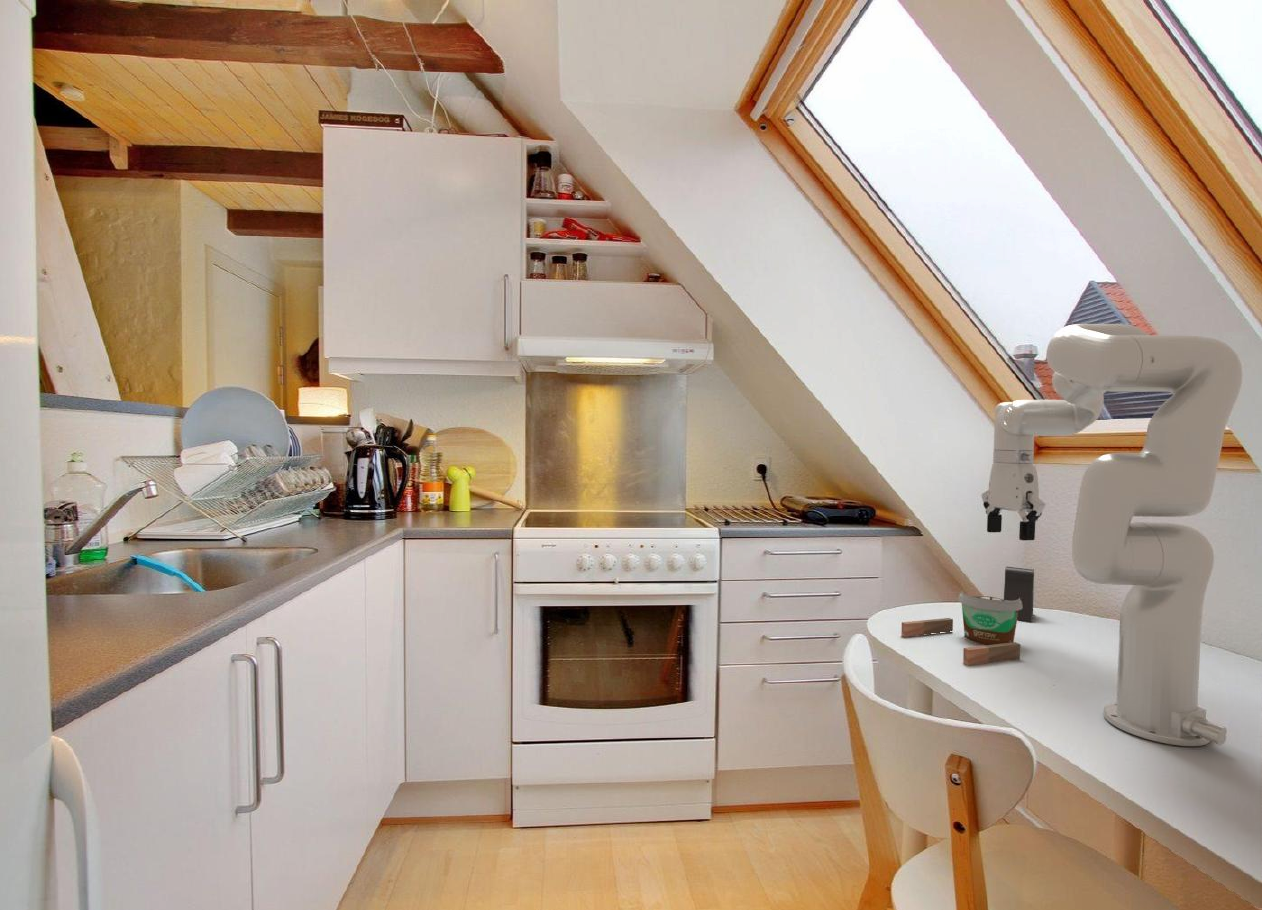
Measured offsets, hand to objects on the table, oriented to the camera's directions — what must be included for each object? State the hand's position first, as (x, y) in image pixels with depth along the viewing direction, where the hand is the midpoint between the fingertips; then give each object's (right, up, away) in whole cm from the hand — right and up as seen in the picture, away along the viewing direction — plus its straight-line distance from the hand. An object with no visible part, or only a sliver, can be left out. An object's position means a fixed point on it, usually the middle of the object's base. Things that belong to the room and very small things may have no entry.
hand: (1009, 535), depth 138 cm
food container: (-6, -23, -3) cm, 24 cm away
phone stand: (+13, -22, +17) cm, 31 cm away
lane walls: (-14, -23, -6) cm, 28 cm away
